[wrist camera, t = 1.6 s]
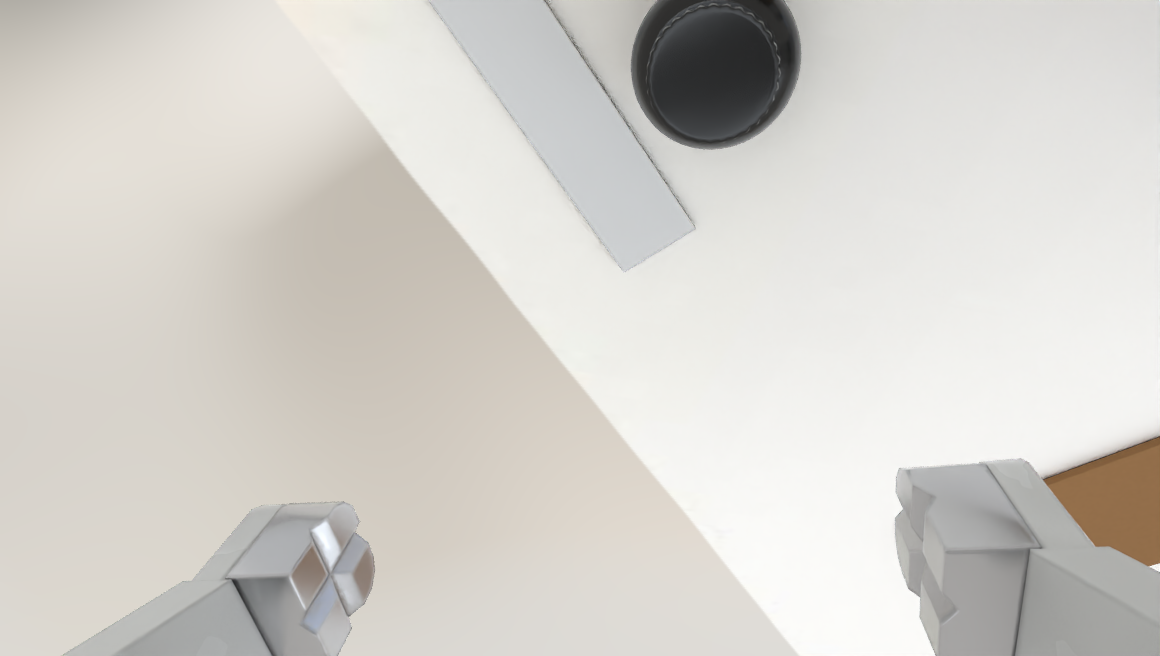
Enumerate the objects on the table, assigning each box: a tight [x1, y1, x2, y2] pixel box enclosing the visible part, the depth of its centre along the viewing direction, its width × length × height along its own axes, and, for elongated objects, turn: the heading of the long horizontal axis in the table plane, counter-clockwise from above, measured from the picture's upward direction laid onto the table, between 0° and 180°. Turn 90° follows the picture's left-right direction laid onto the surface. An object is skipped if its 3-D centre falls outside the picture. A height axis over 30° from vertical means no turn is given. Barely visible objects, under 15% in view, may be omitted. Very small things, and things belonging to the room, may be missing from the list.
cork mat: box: [1043, 437, 1160, 566], centre depth 42 cm, size 20×9×1 cm, turn 128°
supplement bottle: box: [631, 0, 801, 149], centre depth 29 cm, size 7×7×12 cm
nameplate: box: [429, 0, 695, 272], centre depth 36 cm, size 22×1×5 cm
